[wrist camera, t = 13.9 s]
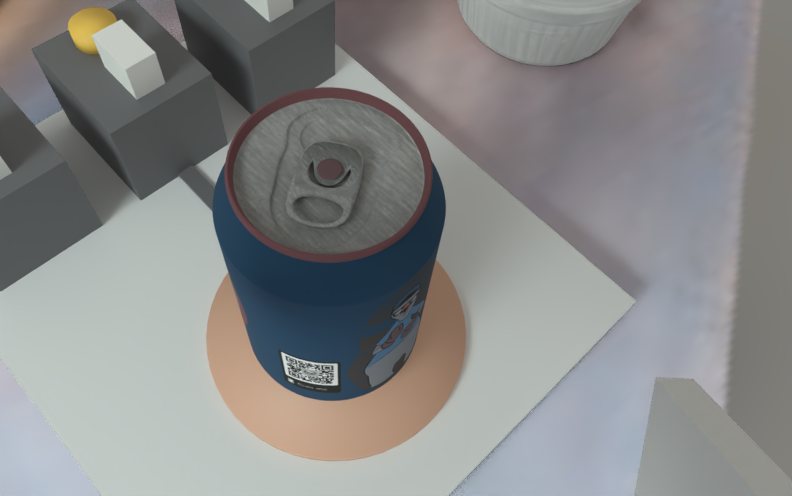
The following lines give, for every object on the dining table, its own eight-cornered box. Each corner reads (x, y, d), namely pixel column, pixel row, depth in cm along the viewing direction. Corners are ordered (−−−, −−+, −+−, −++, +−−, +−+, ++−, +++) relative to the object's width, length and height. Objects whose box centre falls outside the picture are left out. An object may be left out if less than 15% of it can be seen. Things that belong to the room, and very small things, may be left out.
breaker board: (-93, 223, 33) (-216, 108, 26) (275, 10, 41) (261, -123, 34) (254, 695, 25) (219, 722, 18) (624, 314, 33) (704, 225, 26)
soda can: (278, 243, 32) (246, 50, 21) (428, 275, 31) (472, 96, 21) (229, 390, 28) (162, 246, 18) (397, 427, 28) (430, 304, 17)
